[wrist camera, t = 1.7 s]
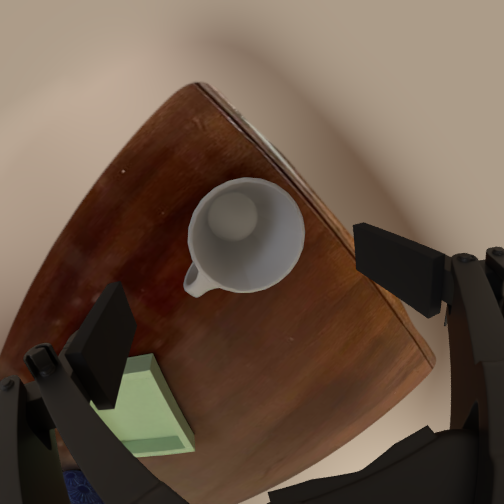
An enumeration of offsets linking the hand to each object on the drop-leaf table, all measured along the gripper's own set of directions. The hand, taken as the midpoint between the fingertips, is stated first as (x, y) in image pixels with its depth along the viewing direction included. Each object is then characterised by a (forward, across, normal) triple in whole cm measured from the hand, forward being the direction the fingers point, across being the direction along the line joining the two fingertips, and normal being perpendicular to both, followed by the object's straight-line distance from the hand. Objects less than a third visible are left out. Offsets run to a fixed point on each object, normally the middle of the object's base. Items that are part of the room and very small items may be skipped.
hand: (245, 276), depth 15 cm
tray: (+12, -17, -19) cm, 28 cm away
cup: (+12, 0, 0) cm, 12 cm away
